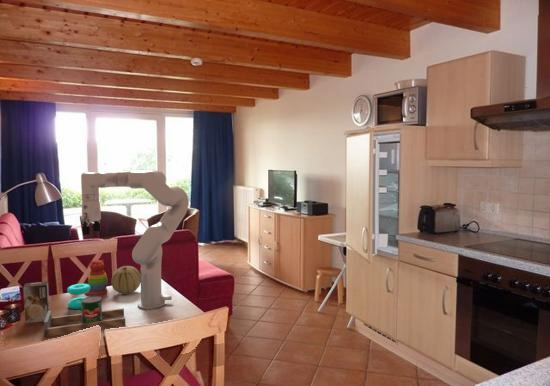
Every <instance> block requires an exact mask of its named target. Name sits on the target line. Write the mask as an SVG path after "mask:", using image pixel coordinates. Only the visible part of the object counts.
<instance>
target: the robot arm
mask: <svg viewBox="0 0 550 386" xmlns="http://www.w3.org/2000/svg"><path fill="white" fill-rule="evenodd" d="M80 180H81V182H80V183H81V184H80V185H81V201H82V204H81V216H80V224H81V226H82V227H81V228H82V235H83V236H84V235H85V236H87V235H88V236H89V235H90V234H91V230H90V229H91V228H90V223H92V227H93V228H92V229H93V230H92V231H93V232H100V231H101V219H102V214H101V213H102V212H101V203H100V194H99V193H100V192H99V188H100V189H103V188H117V187H119V188H121V187H122V188H123V187H124V188H126V187H127V188H130V189H144V190H145V191H146V192H147V193H149V194H150V195H151V197H152V198H153V199H155V200H156V201H157V203H159V204H161V205H162V206H163V207H168V208H167V209H166V210H165V211H164V213H163V215H162V216H161V218H160V220H159V221H158V222H156V223H155V224H153V225H150V226H149V227H147V229H146V230H145V231H144V233H142V235H141V237H140V238H139V240H138V241H137V243H136V244H135V246H134V247H133V248H132V253H131V257H132V260H133V262H135V264H137V265H140V275H141V283H140V301H139V302H138V303H137V307H138V308H140V309H141V310H155V308H156V309H158V308H159V309H160V308H161V306H162V307H164V306H165V305H166V301H170V300H172V295H168V294H166V295H163V294H162V260H163V258H162V257H163V247H162V245H163V244H164V243H166V242H168V241H169V240H170V239H171V238H172V236H173V235H174V232H175V231H176V230H177V228H178V227H179V225H180V223H181V222H182V221H183V219H184V218H185V216H186V214H187V211H188V208H189V201H190V200H189V196H188V194H187V193H186V191H185V190H184V189H183V188H181V187H179V186H172V187H170V186H169V185H167V184H166V181H167V178H166V175H165V173H163V172H162V171H159V170H129V171H100V172H99V171H98V172H90V171H89V172H82V173H81V176H80ZM164 304H165V305H164ZM163 305H164V306H163Z"/></svg>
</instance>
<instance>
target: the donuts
mask: <svg viewBox="0 0 550 386" xmlns="http://www.w3.org/2000/svg"><path fill="white" fill-rule="evenodd" d="M89 290H90V285H88V283H76V284H72V285H70V286H68V287H67V293H68V294H70V295H72V296H80V295H85V293H87V292H88V291H89ZM84 298H87V297H86V296H85V297H84V296H80V297H75V298H71V299H70V300H69V301H68V302H67V307H68V308H69V309H72V310H79V309H81V310H82V306H81V300H82V299H84Z"/></svg>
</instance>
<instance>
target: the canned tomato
mask: <svg viewBox="0 0 550 386" xmlns="http://www.w3.org/2000/svg"><path fill="white" fill-rule="evenodd" d="M81 306H82V308H81V314H82V321H81V323H89V322H96V321H103V319H102V311H103V310H102V309H103V308H102V306H103V305H102V296H87V297H86V298H84V299H82V300H81Z"/></svg>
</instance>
